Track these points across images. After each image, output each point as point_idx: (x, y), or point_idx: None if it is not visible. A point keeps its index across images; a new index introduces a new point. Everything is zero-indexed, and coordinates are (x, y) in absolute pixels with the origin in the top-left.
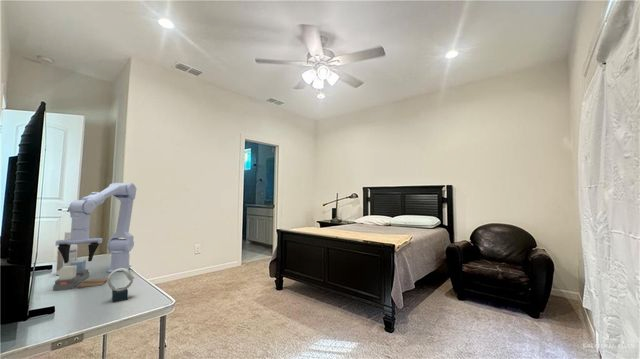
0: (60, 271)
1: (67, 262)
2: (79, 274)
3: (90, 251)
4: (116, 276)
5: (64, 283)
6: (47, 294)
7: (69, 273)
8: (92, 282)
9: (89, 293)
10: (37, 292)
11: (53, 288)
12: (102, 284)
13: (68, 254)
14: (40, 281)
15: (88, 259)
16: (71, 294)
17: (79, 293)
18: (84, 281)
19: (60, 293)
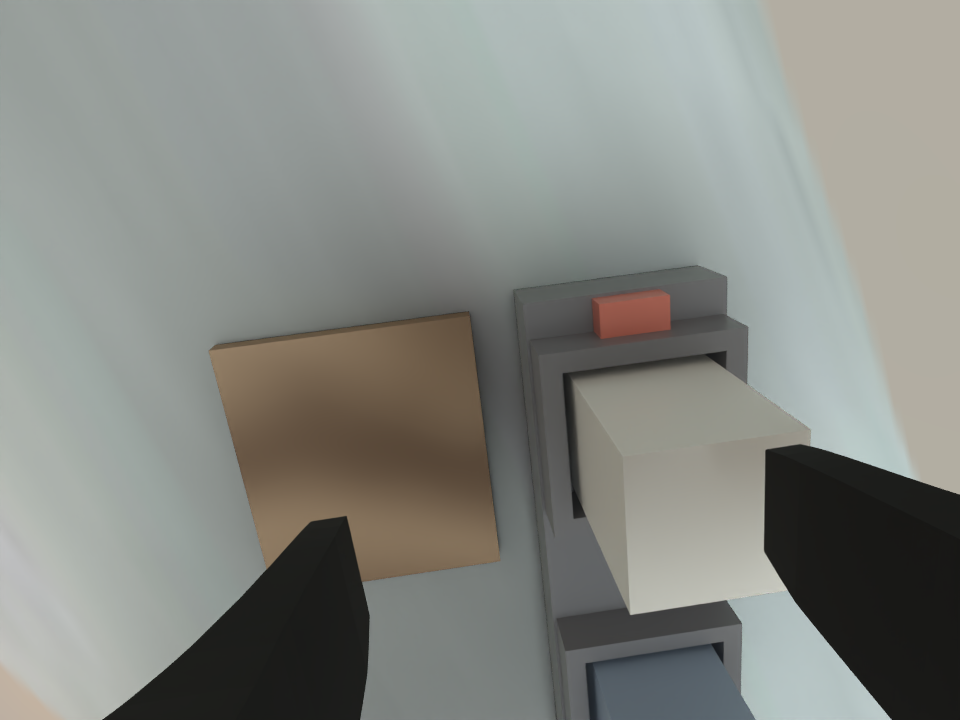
0: (773, 411)
1: (764, 503)
2: (601, 629)
3: (199, 702)
4: None
5: (617, 298)
6: (699, 137)
7: (632, 408)
8: (371, 442)
9: (190, 20)
10: (835, 252)
11: (706, 270)
12: (214, 358)
13: (896, 696)
14: None
15: (329, 533)
16: (412, 47)
17: (329, 62)
18: (489, 501)
19: (568, 135)
